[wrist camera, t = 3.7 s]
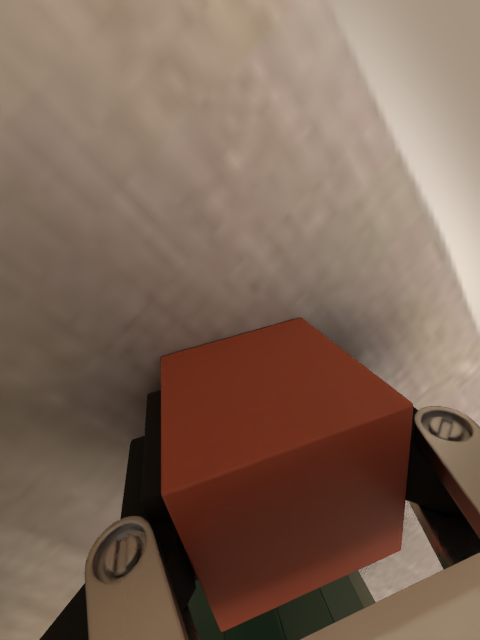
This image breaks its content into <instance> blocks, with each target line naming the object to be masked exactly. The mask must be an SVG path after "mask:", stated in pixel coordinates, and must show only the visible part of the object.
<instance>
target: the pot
mask: <svg viewBox="0 0 480 640" xmlns="http://www.w3.org/2000/svg"><path fill="white" fill-rule="evenodd" d="M195 583H196V589H195V591H194V593H193V595H192V597H191V599H190V600H189V602H188V604H189V607H190V610H191V613H192V616H193V619H194V622H195V625H196V628H197V631H198V634H199V637H200V640H301V639H303V638H305V637H307V636H309V635H311V634H313V633H315V632H317V631H319V630H321V629H323V628H325V627H327V626H329V625H331V624H333V623H335V622H337V621H339V620H341V619H343V618H345V617H348V616H350V615H352V614H354V613H356V612H358V611H360V610H362V609H364V608H366V607H368V606H370V605H372V604H374V603H376V602H375V601H374V599H373V597H372V595H371V593H370V591H369V590H368V588H367V586H366V584H365V582H364V581H363V579H362V577H361V575H360V573H359V571H358V570H357V571H354V572H352V573H350V574H348V575H346V576H343V577H341V578H339V579H337V580H335V581H333V582H330V583H328V584H326V585H324V586H322V587H319V588H317V589H315V590H313V591H311V592H309V593H306V594H304V595H302V596H300V597H298V598H295V599H293V600H291V601H289V602H287V603H285V604H282V605H280V606H278V607H276V608H274V609H271V610H269V611H267V612H265V613H263V614H261V615H258V616H256V617H254V618H252V619H250V620H247V621H245V622H243V623H241V624H239V625H237V626H234V627H232V628H230V629H228V630H226V631H224V632H221V631H220V629H219V626H218V624H217V622H216V619H215V617H214V615H213V613H212V610H211V608H210V606H209V603H208V601H207V599H206V596H205V594H204V592H203V590H202V587H201V585H200V583H199V580H197V581H195Z"/></svg>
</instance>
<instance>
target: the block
mask: <svg viewBox="0 0 480 640" xmlns="http://www.w3.org/2000/svg"><path fill="white" fill-rule="evenodd" d="M412 416H413V404H412V402H410V401H409V400H408V399H406V398H405V397H404V396H403V395H401V394H400V393H399V392H397V391H396V390H395V389H393V388H392V387H391V386H390V385H388V384H387V383H386V382H384V381H383V380H382V379H380V378H379V377H378V376H376V375H375V374H374V373H373V372H371V371H370V370H369V369H367V368H366V367H365V366H363V365H362V364H361V363H359V362H358V361H357V360H356V359H354V358H353V357H352V356H350V355H349V354H348V353H346V352H345V351H344V350H343V349H341V348H340V347H339V346H337V345H336V344H335V343H333V342H332V341H331V340H329V339H328V338H327V337H326V336H324V335H323V334H322V333H320V332H319V331H318V330H316V329H315V328H314V327H313V326H311V325H310V324H309V323H307V322H306V321H305V320H303V319H302V318H298V319H294V320H291V321H287V322H284V323H280V324H276V325H273V326H269V327H266V328H262V329H259V330H255V331H251V332H248V333H244V334H241V335H237V336H234V337H230V338H227V339H223V340H219V341H216V342H212V343H209V344H205V345H202V346H198V347H195V348H191V349H187V350H184V351H180V352H177V353H173V354H170V355H166V356H163V357H161V495H162V498H163V500H164V502H165V505H166V507H167V509H168V512H169V514H170V516H171V518H172V521H173V523H174V525H175V528H176V530H177V532H178V534H179V537H180V539H181V541H182V544H183V546H184V548H185V551H186V553H187V555H188V557H189V560H190V562H191V564H192V567H193V569H194V571H195V574H196V576H197V578H198V580H199V583H200V585H201V587H202V590H203V592H204V594H205V596H206V599H207V601H208V603H209V606H210V608H211V610H212V613H213V615H214V617H215V619H216V622H217V624H218V626H219V629H220V631H221V632H224V631H226V630H228V629H230V628H232V627H234V626H237V625H239V624H241V623H243V622H245V621H247V620H250V619H252V618H254V617H256V616H258V615H261V614H263V613H265V612H267V611H269V610H271V609H274V608H276V607H278V606H280V605H282V604H285V603H287V602H289V601H291V600H293V599H295V598H298V597H300V596H302V595H304V594H306V593H309V592H311V591H313V590H315V589H317V588H319V587H322V586H324V585H326V584H328V583H330V582H333V581H335V580H337V579H339V578H341V577H343V576H346V575H348V574H350V573H352V572H354V571H357V570H359V569H361V568H363V567H365V566H367V565H370V564H372V563H374V562H376V561H378V560H381V559H383V558H385V557H387V556H389V555H391V554H394V553H396V552H398V551H400V550H401V544H402V532H403V521H404V509H405V497H406V486H407V474H408V463H409V451H410V439H411V428H412Z"/></svg>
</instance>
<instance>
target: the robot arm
mask: <svg viewBox="0 0 480 640" xmlns="http://www.w3.org/2000/svg"><path fill="white" fill-rule="evenodd" d="M405 500H407V501H409V503H410V505H411V507H412V509H413V511H414V513H415V515H416V517H417V519H418V521H419V523H420V524H421V526H422V528H423V530H424V532H425V534H426V536H427V538H428V540H429V542H430V544H431V546H432V548H433V550H434V551H435V553H436V555H437V557H438V559H439V561H440V563H441V565H442V567H443V569H444V570H442V571H440V572H438V573H436V574H434V575H432V576H430V577H428V578H426V579H424V580H422V581H420V582H417V583H415V584H413V585H411V586H409V587H407V588H405V589H403V590H401V591H399V592H397V593H395V594H393V595H391V596H389V597H387V598H384V599H382V600H380V601H378V602H376V603H374V604H372V605H370V606H368V607H366V608H364V609H362V610H360V611H358V612H356V613H354V614H352V615H350V616H348V617H345V618H343V619H341V620H339V621H337V622H335V623H333V624H331V625H329V626H327V627H325V628H323V629H321V630H319V631H317V632H315V633H313V634H311V635H309V636H307V637H305V638H303V639H301V640H480V427H479V426H478V425H477V424H476V423H475V422H474V421H473V420H472V419H471V418H469V417H468V416H467V415H465V414H463V413H461V412H459V411H457V410H454V409H451V408H447V407H441V406H429V407H425V408H422V409H420V410H419V411H418V410H417V409H416V408H414V407H413V416H412V428H411V439H410V451H409V463H408V474H407V486H406V497H405ZM197 580H198V578H197V576H196V574H195V571H194V569H193V567H192V564H191V562H190V560H189V557H188V555H187V553H186V551H185V548H184V546H183V544H182V541H181V539H180V537H179V534H178V532H177V530H176V528H175V525H174V523H173V521H172V518H171V516H170V514H169V512H168V509H167V507H166V505H165V502H164V500H163V498H162V495H161V390H158V391H155V392H152V393H148V396H147V409H146V423H145V436H142V437H139V438H136V439H133V440H132V441H131V444H130V450H129V458H128V466H127V473H126V481H125V489H124V497H123V504H122V512H121V519H120V520H118V521H116V522H114V523H113V524H112V525H111V526H109V527H108V528H107V529H105V531H104V532H103V533H102V534H101V535H100V536H99V537H98V538H97V540H96V541H95V543H94V545H93V546H92V548H91V550H90V552H89V555H88V557H87V560H86V564H85V584H84V585H83V586H82V587H81V589H80V590H79V591H78V592H77V594H76V595H75V596H74V597H73V599H72V600H71V601H70V602H69V604H68V605H67V606H66V607H65V609H64V610H63V611H62V612H61V614H60V615H59V616H58V617H57V619H56V620H55V621H54V622H53V624H52V625H51V626H50V627H49V629H48V630H47V631H46V632H45V633H44V635H43V636H42V637H41V638H40V640H200V637H199V634H198V631H197V628H196V625H195V622H194V619H193V616H192V613H191V610H190V607H189V604H188V602H189V600H190V599H191V597H192V595H193V593H194V591H195V589H196V583H195V581H197Z"/></svg>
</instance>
